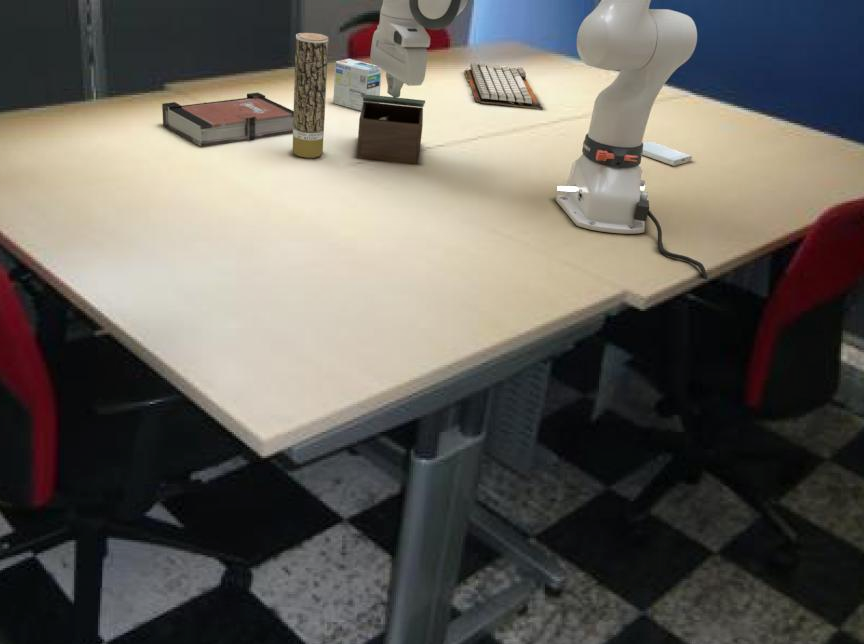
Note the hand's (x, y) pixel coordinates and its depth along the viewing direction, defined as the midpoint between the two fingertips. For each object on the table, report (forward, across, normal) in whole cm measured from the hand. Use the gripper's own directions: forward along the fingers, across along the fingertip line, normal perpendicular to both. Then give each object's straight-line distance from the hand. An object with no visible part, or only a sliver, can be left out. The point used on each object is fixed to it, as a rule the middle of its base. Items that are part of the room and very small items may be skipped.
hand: (393, 95), depth 199 cm
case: (+14, -3, +2) cm, 14 cm away
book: (+14, -24, -30) cm, 40 cm away
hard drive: (+14, +13, +70) cm, 73 cm away
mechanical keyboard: (+14, -50, +61) cm, 80 cm away
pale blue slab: (+2, -3, +1) cm, 4 cm away
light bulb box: (+14, -38, +9) cm, 42 cm away
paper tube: (+14, -4, -18) cm, 23 cm away
